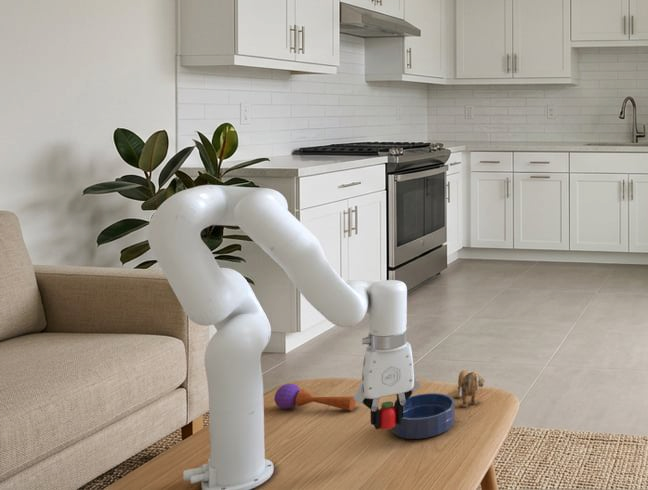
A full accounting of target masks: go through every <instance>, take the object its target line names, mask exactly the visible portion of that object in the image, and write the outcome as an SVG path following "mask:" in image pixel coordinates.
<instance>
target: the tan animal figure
mask: <svg viewBox="0 0 648 490" xmlns="http://www.w3.org/2000/svg"><path fill="white" fill-rule="evenodd" d="M485 383H486V379H484V378H483V377H482V376H481V375H480V373H479V372H478V371H471V372H470V371H469V370H467V369H463V370H461V371H460V372H459V374H458V380H457V395H456V399H461V398H462V406H461V407H462V408H467V407H468V401H467V400H468V399H467V396H468V397H471V398H470V403H471V404H472V405H477V404H478V401H476V395H477V392H479V390H480V388H484V385H485Z"/></svg>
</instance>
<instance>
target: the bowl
mask: <svg viewBox="0 0 648 490" xmlns="http://www.w3.org/2000/svg"><path fill="white" fill-rule="evenodd" d="M455 405H456V404H455V399H454V398H453V397H452V396H450V395H448V394H444V393H440V392H439V393H438V392H437V393H435V392H433V393H432V392H428V393H419V394H415V395H411V396H410V397H409V398H408V399H407V401H406V403H405V405H404V417H403V418H401V424H399V425H398V424H397V423H396V425H395V426H394V427H392V428H391V432H392V433H393V434H394V435H396V436H397V437H399V438H403V439H414V440H415V439H417V440H418V439H427V438H431V437H435V436H438V435H440V434H443V433H445V432H447V431H448V430H450V429H451V428H452V427H453V425H454V424H455V423H456V415H455V413H456V412H455V411H456V410H455Z"/></svg>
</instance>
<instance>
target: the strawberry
mask: <svg viewBox="0 0 648 490" xmlns="http://www.w3.org/2000/svg"><path fill="white" fill-rule="evenodd" d="M379 410H380V428H379V430H388V429H392V427H394V426H395V425H396V418H397V412H396V409H395V407H394V402H393V401H383V402H382V403H381V405H380V408H379Z"/></svg>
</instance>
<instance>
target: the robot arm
mask: <svg viewBox="0 0 648 490" xmlns="http://www.w3.org/2000/svg"><path fill="white" fill-rule="evenodd" d="M288 205H289V204H288V201H287V199H286V197H285V196H284V195H283V194H282V193H281V192H280V191H277V190H276V189H274V188H268V187H249V186H247V187H246V186H236V185H222V184H221V185H219V184H203V185H198V186H194V187H190V188H187V189H184V190H181V191H178V192H175V193H174V194H172V195H171V196H169V197H168V198H167V199H165V200H164V201H163V202H162V203H161V204H160V205H159V206H158V207H157V208H156V210H155V211H154V213H153V215H152V216H151V218H150V221H149V223H148V226H147V241H148V245H149V248H150V250H151V253H152V255H153V257H154V258H155V260H156V262H157V263H158V265H159V267H160V269H161V270H162V273H163V274H164V275H165V278H166V279H167V281H168V284H169V286H170V287H171V289H172V291H173V293H174V294H175V296H176V299H177V300H178V302H179V303H180V305H181V307H182V309H183V312H185V315H186V316H187V317H188V319H189V320H190V321H191V322H193V323H195V324H196V325H199V326H203V327H204V326H205V327H209V326H213V327H214V328H215V329H216V332H215V333H214V334H213V335H212V337H211V338H210V339H209V341H208V343H207V346H206V348H205V352H204V360H203V361H204V369H205V376H206V382H207V393H208V395H207V396H208V417H209V419H208V423H209V427H208V428H209V457H208V459H207V460H208V461H207V463H203V464H202V466H200V467H195V468H189V469H186V470H183V471H182V472H183V473H182V474H183V482H187V481H190V484H196V483H199V482H201V490H252V489H254V488H257V487H259V486H260V485H262V484H263V483H265V482H266V481H268V480H269V479H270V478H271V477H272V475H273V473H274V470H275V469H274V466H275V465H274V463H273V462H272V461H271V460H269V459H267V458H266V456H265V455H266V454H265V453H266V451H265V446H266V445H265V408H264V407H265V406H264V405H265V404H264V403H265V401H264V399H265V398H264V380H263V373H262V372H263V371H262V364H261V363H262V361H261V359H262V358H261V357H262V354H263V351H264V350H265V348H266V347H267V345H268V344H269V342H270V339H271V336H272V327H271V323H270V321H269V319H268V316H267V315H266V313H265V311H264V308H263V306H262V305H261V304H260V301H259V299H258V298H257V296H256V294H255V292H254V291H253V289H252V287H251V285H250V284H249V281H247V279H246V278H245V277H244V275H242V274H241V273H240V272H238V271H237V270H235V269H232V268H230V267H220V265H219V264H218V262H217V261H216V259H215V256H214V254H213V252H212V251H211V249H210V248H209V246H208V245H207V244H206V243H205V242H204V240H203V239H202V235H201V233H202V231H203V230H205V229H207V228H209V227H210V226H231V227H239V229H240V230H241V231H242V232H243V233H244V234H245V235H246V236H247V237H249V238H250V239H251V240H252V241H253V242H254V243H255V244H256V245H257V246H258V247H260V248H261V250H262V251H264V252H265V253H266V254H267V255H268V256H269V257H270V258H271V259H272V260H273V261H274V262H275V263H276V264H278V265H279V267H281V268H282V270H283V271H284V272H285V273H286V276H287V277H288V278H289V280H290V281H291V282H292V284H293V285H294V286H295V288H296V289H297V290H298V291H299V293H300V294H301V295H302V296H303V298H304V299H305V300H306V301H307V302H308V303H309V304H310V305H311V306H312V307H313V308H314V310H316V311H317V312H319V313H320V314H321V316H323V317H324V318H325V319H326V320H327V321H328V322H330V323H331V324H333V325H335V326H337V327H340V328H350V327H353V326H356V325H357V324H359V323H360V322H361V321H362V320H363V319H364V318H365V316H366V314H368V315H369V327H368V328H369V329H368V330H369V331H368V335H367V336H365V337H362V338H361V344H362V345H367V346H366V348H365V352H364V355H363V361H362V371H361V383H360V384H359V385H358V387H357V389H356V391H355V392H354V394H353V396H352V397H353V398H354V400H355V401H356V403H360V404H363V405H364V406H366V407H367V408H368V409H370V425H371V426H373V427H374V429H375V430H376V431H377V430H380V408H379V402H380V399H381V398H385V397H390V396H395V398H396V400H395V401H394V402H393V406H394V407H395V409H396V412H397V418H396V423H397V424H398V425H399V424H401V418H403V417H404V405H405V403H406V401H407V399H408V398H409V397H410V396H413V394H414V393H415V392H417V390H419V389H420V388H421V384H420V382H419V381H418V380H417V378H416V377H415V373H414V372H415V369H414V359H413V351H412V346H411V343H410V342H409V341H407V330H408V329H407V328H408V327H407V326H408V324H407V318H408V316H407V315H408V289H407V288H408V287H407V285H406V283H405V282H403V281H401V280H398V279H386V280H380V281H370V280H360V279H350V280H344V279H343V278H342V277H341V276H340V275H339V274H338V273H337V271H336V270H335V269H334V268H333V267H332V265H331V264H330V262H329V260H328V259H327V257H326V255H325V251H324V249H323V246H322V244H321V242H320V241H319V239H318V237H316V236H315V234H313V233H312V232H311V231H310V230H309V229H308V228H307V227H306V226H305V225H304V224H303V223H302V222H301V221H300V220H299V219H297V217H296V216H294V214H292V213H291V212H290V211H289V206H288Z"/></svg>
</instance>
